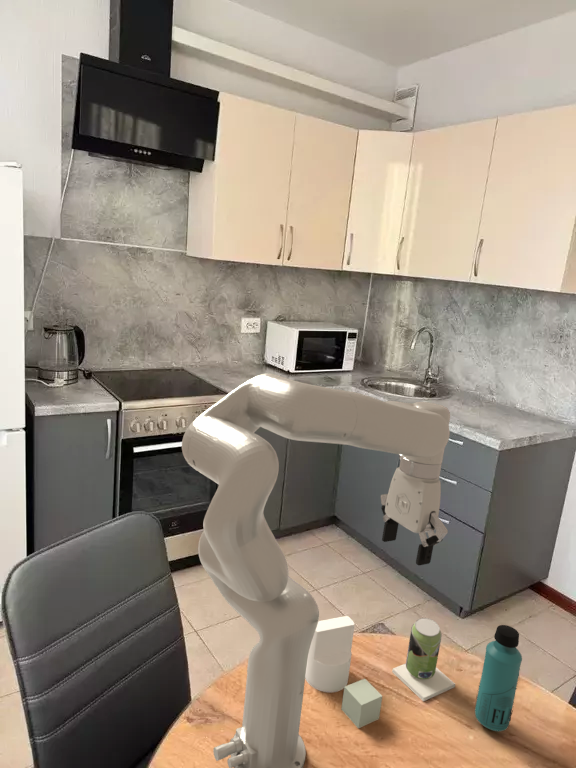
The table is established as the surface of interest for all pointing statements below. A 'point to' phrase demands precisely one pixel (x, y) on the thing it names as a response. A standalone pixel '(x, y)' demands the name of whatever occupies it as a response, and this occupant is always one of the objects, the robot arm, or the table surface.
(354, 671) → the table surface
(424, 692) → the coaster
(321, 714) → the table surface
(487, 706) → the beverage bottle
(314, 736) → the table surface
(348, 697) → the sage block
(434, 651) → the beverage can
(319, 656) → the cylinder with rectangular tab
